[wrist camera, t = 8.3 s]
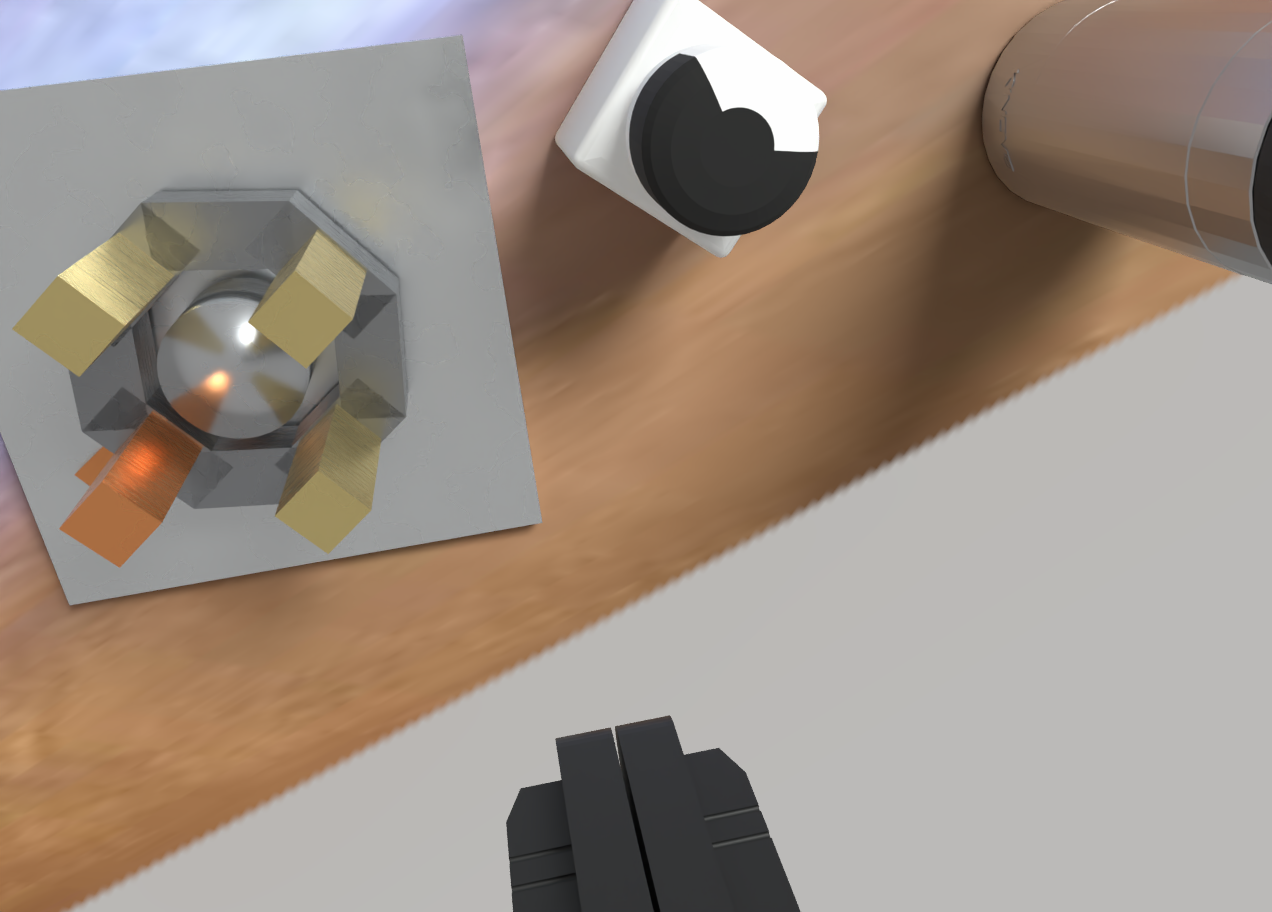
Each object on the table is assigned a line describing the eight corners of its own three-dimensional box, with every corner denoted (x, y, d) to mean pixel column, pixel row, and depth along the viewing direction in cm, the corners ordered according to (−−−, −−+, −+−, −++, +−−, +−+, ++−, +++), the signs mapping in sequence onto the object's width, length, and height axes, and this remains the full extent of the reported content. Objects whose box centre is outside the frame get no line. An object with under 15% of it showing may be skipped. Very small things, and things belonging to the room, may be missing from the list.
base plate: (461, 34, 41) (464, 38, 37) (540, 513, 50) (549, 563, 46) (-118, 103, 39) (-191, 117, 34) (76, 593, 48) (38, 655, 44)
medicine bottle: (686, 227, 46) (761, 295, 35) (550, 140, 44) (586, 185, 33) (777, 84, 44) (884, 110, 33) (640, -15, 42) (709, -21, 31)
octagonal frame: (55, 192, 40) (-48, 242, 31) (391, 189, 42) (379, 235, 34) (116, 488, 45) (42, 600, 37) (413, 472, 47) (407, 574, 39)
